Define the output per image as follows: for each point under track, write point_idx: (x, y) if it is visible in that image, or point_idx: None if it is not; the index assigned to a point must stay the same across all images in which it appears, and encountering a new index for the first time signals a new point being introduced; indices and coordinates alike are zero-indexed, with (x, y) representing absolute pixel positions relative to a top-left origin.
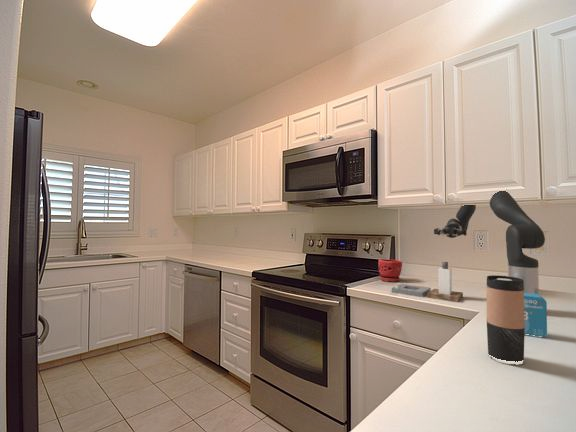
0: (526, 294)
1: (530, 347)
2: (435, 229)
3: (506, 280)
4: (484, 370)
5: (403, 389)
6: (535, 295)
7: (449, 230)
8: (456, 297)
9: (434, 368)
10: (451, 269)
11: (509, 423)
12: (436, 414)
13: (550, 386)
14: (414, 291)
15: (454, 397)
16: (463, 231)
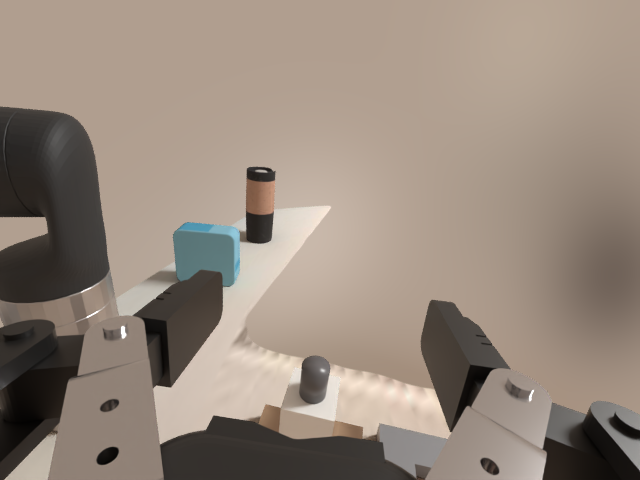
0: (199, 226)
1: None
2: (601, 404)
3: (263, 167)
4: (280, 228)
5: (324, 215)
6: (189, 225)
7: (308, 451)
8: (268, 405)
9: (311, 226)
10: (281, 408)
11: (279, 209)
12: (308, 209)
13: (245, 223)
14: (407, 430)
15: (300, 214)
16: (69, 339)
